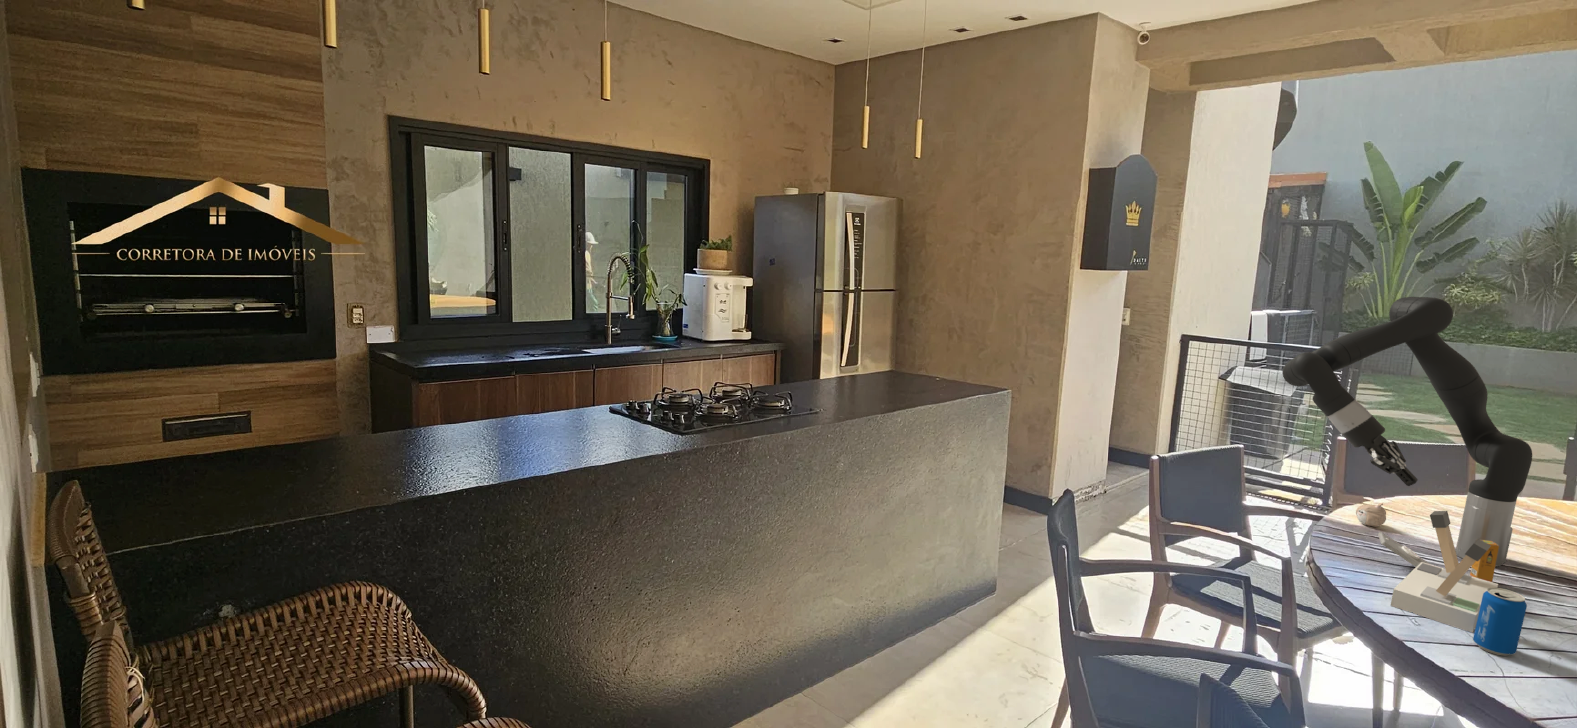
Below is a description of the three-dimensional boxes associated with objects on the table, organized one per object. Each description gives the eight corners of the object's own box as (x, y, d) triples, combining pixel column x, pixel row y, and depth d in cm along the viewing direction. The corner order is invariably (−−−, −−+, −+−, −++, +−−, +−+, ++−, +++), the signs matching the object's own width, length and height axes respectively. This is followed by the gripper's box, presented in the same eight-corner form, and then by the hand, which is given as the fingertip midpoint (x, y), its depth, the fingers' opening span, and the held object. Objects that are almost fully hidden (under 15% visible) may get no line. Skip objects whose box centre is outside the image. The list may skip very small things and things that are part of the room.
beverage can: (1463, 640, 158) (1475, 586, 155) (1492, 639, 158) (1504, 586, 156) (1494, 658, 151) (1507, 601, 149) (1524, 657, 152) (1537, 601, 150)
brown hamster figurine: (1358, 526, 218) (1363, 500, 216) (1351, 519, 223) (1356, 493, 222) (1386, 531, 215) (1391, 504, 214) (1379, 523, 221) (1384, 496, 219)
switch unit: (1390, 605, 171) (1394, 586, 171) (1418, 577, 186) (1421, 559, 186) (1472, 632, 161) (1476, 612, 160) (1494, 600, 176) (1498, 581, 175)
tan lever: (1433, 590, 167) (1473, 543, 161) (1438, 584, 169) (1478, 538, 163) (1446, 597, 165) (1487, 550, 159) (1450, 592, 168) (1491, 545, 162)
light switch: (1442, 575, 184) (1386, 538, 189) (1424, 590, 187) (1370, 554, 191) (1436, 563, 191) (1382, 528, 196) (1419, 578, 193) (1367, 543, 198)
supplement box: (1484, 578, 187) (1493, 540, 185) (1492, 584, 184) (1500, 545, 182) (1467, 576, 188) (1476, 538, 186) (1475, 582, 185) (1483, 543, 183)
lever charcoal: (1444, 572, 177) (1429, 514, 179) (1448, 567, 180) (1434, 510, 181) (1457, 573, 176) (1442, 514, 177) (1462, 568, 178) (1447, 510, 180)
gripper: (1362, 422, 177) (1422, 485, 171) (1377, 407, 185) (1435, 466, 179) (1332, 439, 182) (1390, 500, 176) (1349, 423, 190) (1404, 481, 185)
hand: (1413, 483), depth 178 cm, fingers closed
